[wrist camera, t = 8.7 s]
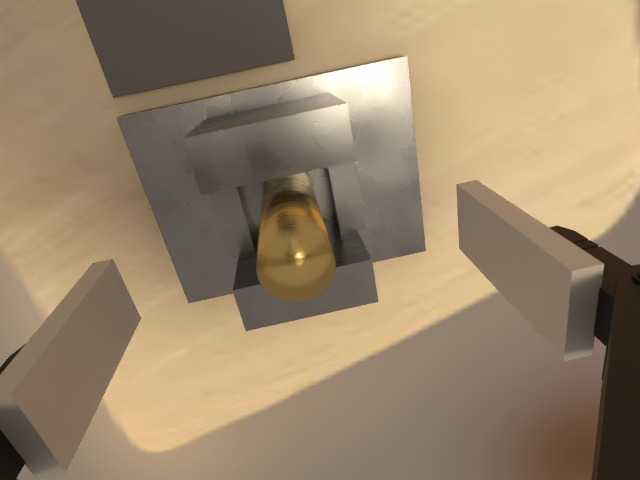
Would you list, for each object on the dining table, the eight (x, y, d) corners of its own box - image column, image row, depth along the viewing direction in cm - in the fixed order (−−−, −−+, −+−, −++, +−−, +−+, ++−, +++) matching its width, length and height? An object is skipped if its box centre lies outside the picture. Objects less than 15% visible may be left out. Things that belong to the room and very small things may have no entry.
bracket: (123, 115, 23) (64, 137, 17) (401, 56, 23) (450, 54, 17) (191, 295, 28) (166, 365, 22) (420, 244, 28) (463, 298, 22)
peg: (257, 171, 24) (247, 240, 15) (308, 161, 24) (328, 224, 15) (269, 218, 25) (266, 309, 16) (317, 208, 25) (341, 293, 16)
